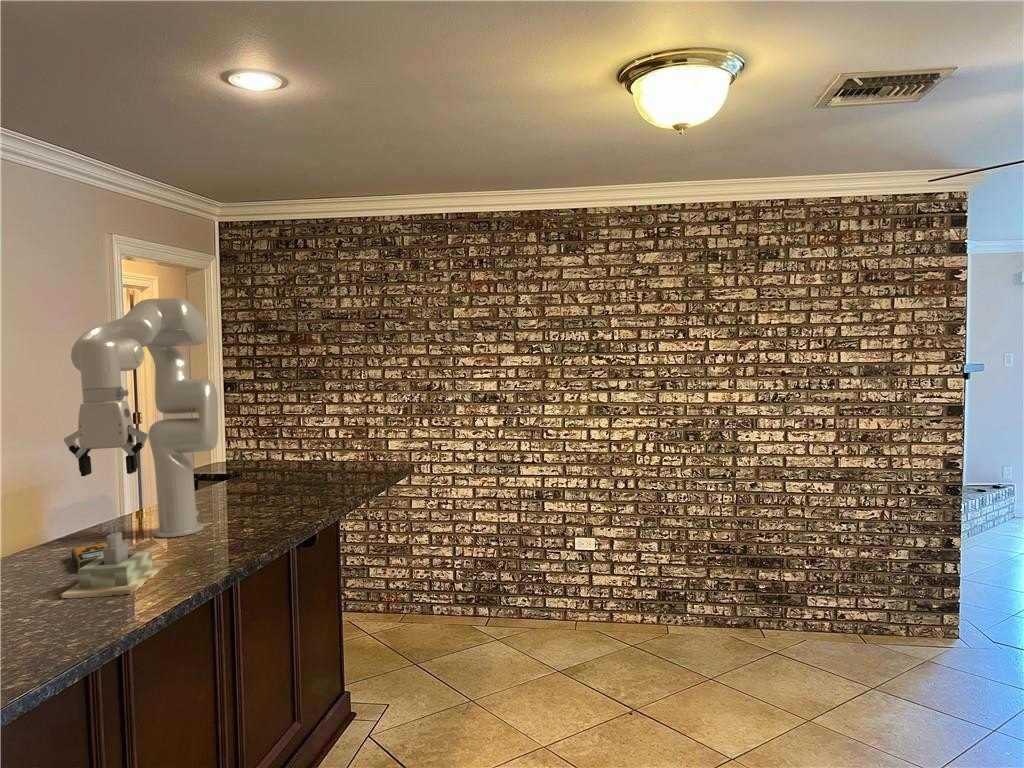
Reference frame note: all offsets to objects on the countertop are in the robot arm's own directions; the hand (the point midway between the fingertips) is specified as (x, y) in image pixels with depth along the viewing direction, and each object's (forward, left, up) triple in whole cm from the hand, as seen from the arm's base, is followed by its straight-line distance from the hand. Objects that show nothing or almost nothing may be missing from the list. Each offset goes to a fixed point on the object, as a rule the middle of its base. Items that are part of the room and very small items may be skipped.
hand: (109, 473), depth 155 cm
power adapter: (0, 0, -23) cm, 23 cm away
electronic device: (-16, -13, -25) cm, 33 cm away
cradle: (0, 0, -24) cm, 24 cm away
